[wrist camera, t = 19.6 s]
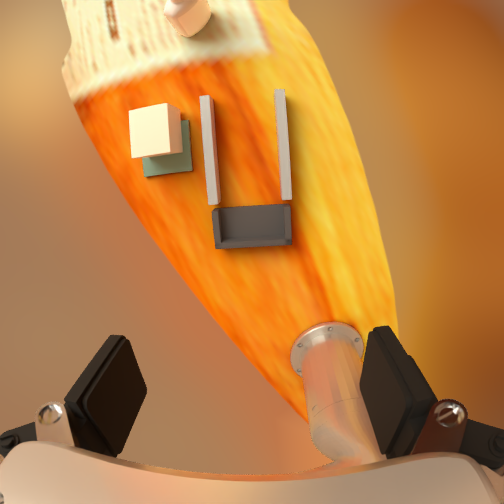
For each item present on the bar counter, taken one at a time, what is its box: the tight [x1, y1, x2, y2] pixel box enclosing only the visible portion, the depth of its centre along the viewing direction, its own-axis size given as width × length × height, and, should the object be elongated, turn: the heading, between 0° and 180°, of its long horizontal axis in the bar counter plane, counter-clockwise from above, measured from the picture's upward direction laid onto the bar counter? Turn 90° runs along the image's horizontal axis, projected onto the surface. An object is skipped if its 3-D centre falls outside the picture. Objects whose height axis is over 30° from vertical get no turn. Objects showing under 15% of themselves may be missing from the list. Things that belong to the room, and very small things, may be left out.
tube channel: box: [200, 89, 292, 205], centre depth 35 cm, size 14×10×3 cm
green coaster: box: [142, 120, 193, 177], centre depth 36 cm, size 7×7×1 cm
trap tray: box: [212, 204, 292, 249], centre depth 38 cm, size 5×10×2 cm, turn 94°
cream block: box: [129, 103, 183, 158], centre depth 33 cm, size 6×5×6 cm
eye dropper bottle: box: [164, 0, 211, 37], centre depth 25 cm, size 4×6×12 cm
